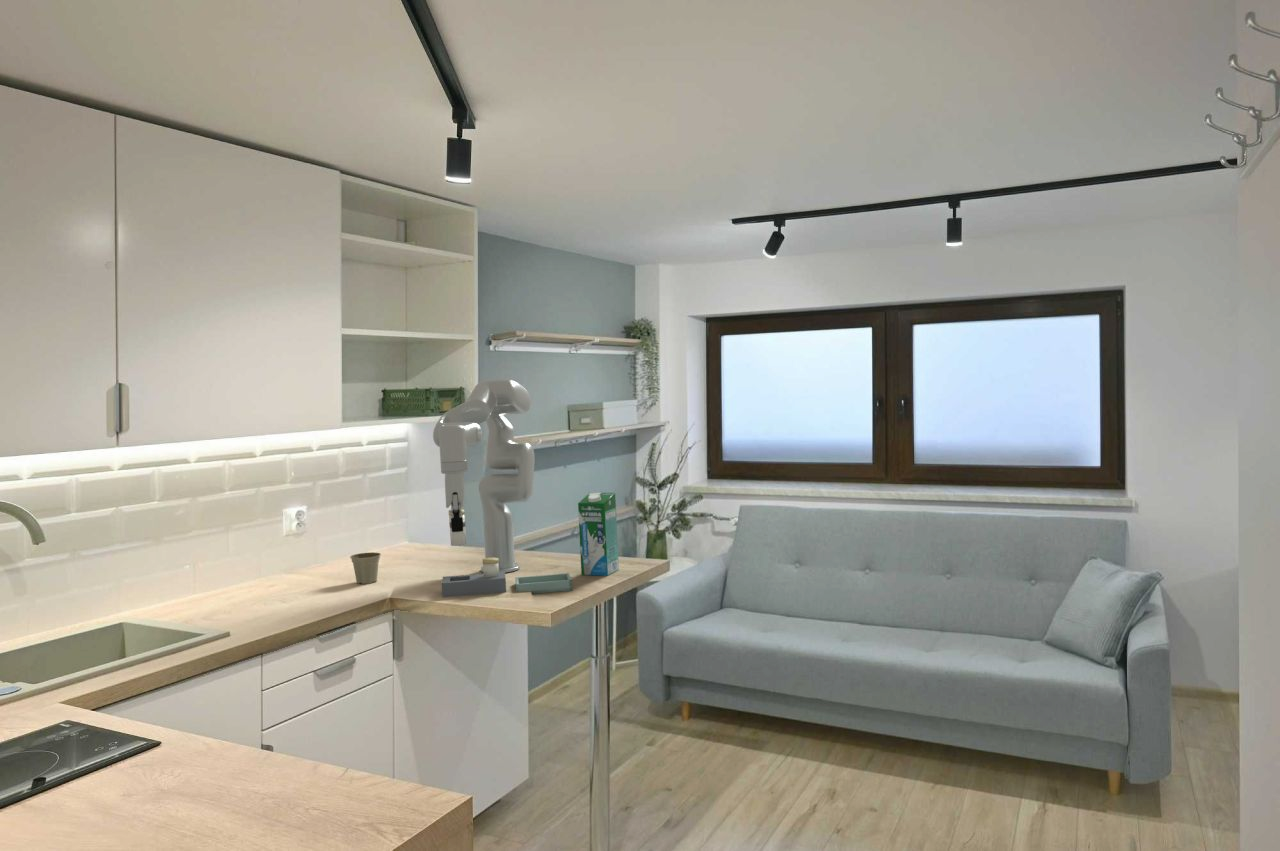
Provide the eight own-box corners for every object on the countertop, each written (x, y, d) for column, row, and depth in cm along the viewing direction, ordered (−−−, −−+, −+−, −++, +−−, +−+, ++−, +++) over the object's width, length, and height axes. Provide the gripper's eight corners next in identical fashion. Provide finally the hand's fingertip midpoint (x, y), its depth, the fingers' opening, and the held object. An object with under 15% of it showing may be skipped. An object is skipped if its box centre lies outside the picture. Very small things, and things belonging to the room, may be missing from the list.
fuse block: (443, 593, 261) (442, 559, 260) (505, 588, 264) (504, 555, 263) (442, 600, 252) (440, 565, 252) (506, 595, 255) (504, 561, 255)
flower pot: (388, 581, 282) (386, 554, 282) (361, 586, 275) (359, 559, 275) (372, 577, 288) (371, 551, 288) (345, 583, 281) (344, 556, 281)
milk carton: (581, 574, 279) (577, 495, 278) (593, 568, 287) (589, 492, 286) (607, 575, 275) (603, 495, 274) (618, 569, 284) (615, 492, 283)
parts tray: (515, 587, 265) (515, 577, 265) (569, 583, 268) (568, 573, 268) (517, 594, 255) (516, 584, 255) (572, 590, 258) (571, 580, 258)
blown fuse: (450, 543, 259) (448, 509, 258) (466, 542, 260) (464, 508, 259) (450, 546, 254) (448, 511, 254) (466, 545, 255) (464, 510, 255)
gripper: (442, 465, 263) (445, 526, 264) (439, 471, 247) (443, 536, 248) (467, 463, 265) (471, 524, 266) (466, 469, 248) (470, 534, 249)
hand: (457, 529), depth 257 cm, fingers closed on blown fuse, 4 cm apart
